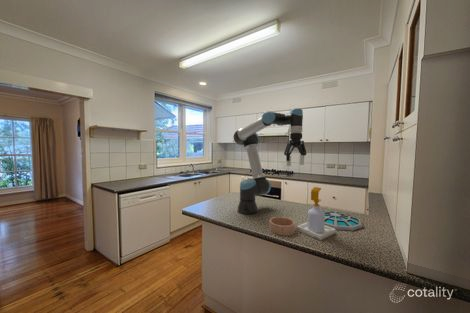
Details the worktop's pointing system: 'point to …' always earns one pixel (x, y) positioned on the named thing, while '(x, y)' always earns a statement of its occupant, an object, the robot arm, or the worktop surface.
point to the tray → (320, 236)
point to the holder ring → (286, 223)
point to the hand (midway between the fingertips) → (295, 165)
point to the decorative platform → (341, 221)
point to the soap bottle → (315, 214)
